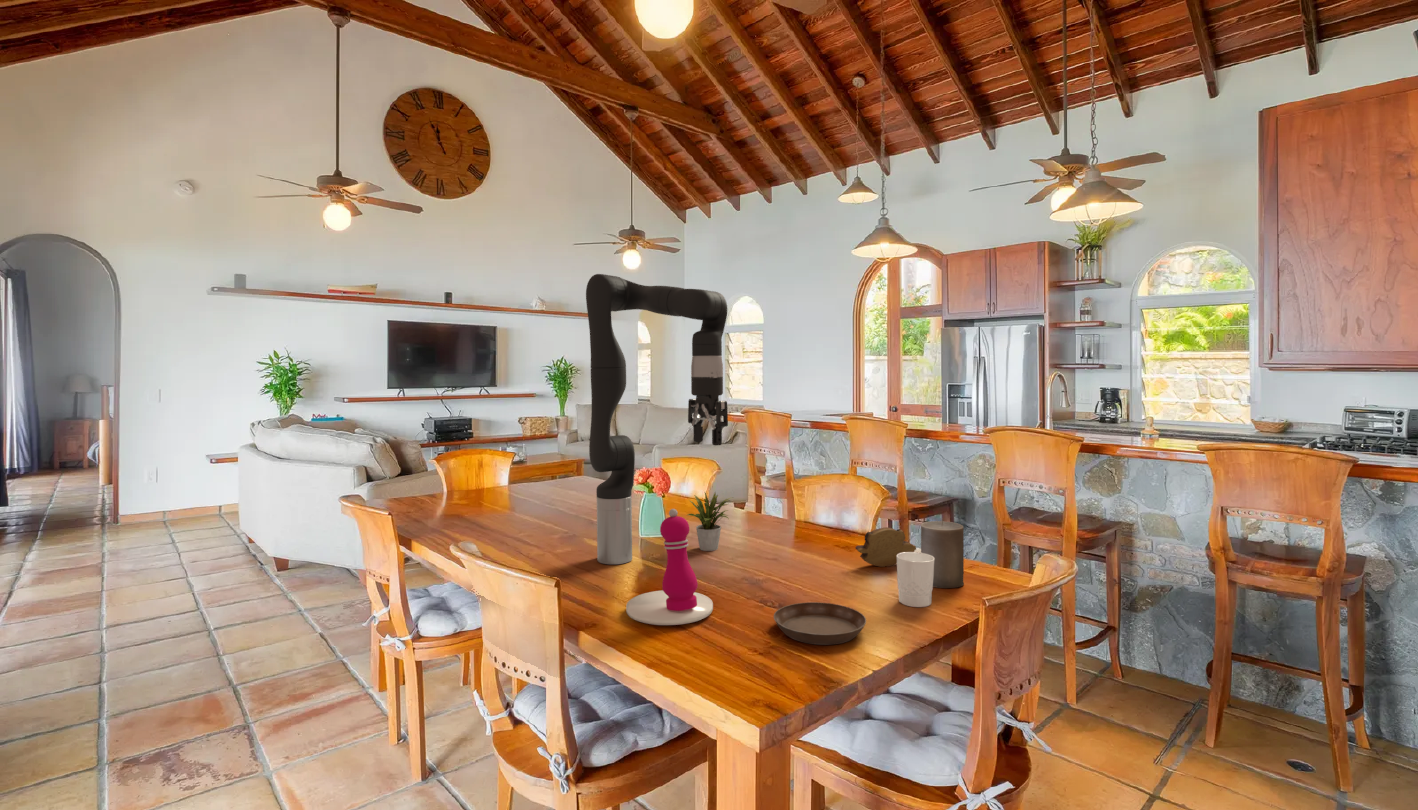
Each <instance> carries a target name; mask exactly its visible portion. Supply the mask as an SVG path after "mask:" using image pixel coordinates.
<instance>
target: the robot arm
mask: <svg viewBox="0 0 1418 810" xmlns="http://www.w3.org/2000/svg"><path fill="white" fill-rule="evenodd" d="M585 301H586V302H585V303H586V312H587V318H588V319H587V320H588V327H589V328H588V329H589V343H590V344H589V345H590V346H589V347H590V388H591V389H590V390H591V415H590V416H591V417H590V419H591V420H590V432H589V433H590V435H589V447H588V450H589V451H588V453H589V461H590V464H591V467H592V469H593V470H594V471H595V472H598V473H607V472H611V473H610V475H609V477H608V478H606V480H604V481H603V482H601V483H600V484H598V485H597V486H596V491H595V492H596V540H597V541H596V543H597V544H596V546H597V550H596V551H597V558H596V559H597V562H598V563H600V564H604V565H621V564H626V563H630V562H631V561H632V560H633V521H632V520H633V511H632V509H633V506H632V505H633V504H632V503H633V501H632V494H633V493H632V491H633V487H634V483H635V462H636V461H635V460H636V458H635V456H636V454H635V452H636V451H635V446H634V444H633V441H632V439H631V438H630V436H627V435H623V434H622V435H621V434H619V435H611V426H612V425H611V423H612V418H613V416H614V413H615V411H616V409H617V407H618V405H619V403H620V401H621V399H622V398H623V395H624V393H625V391H626V387H627V362H626V358H625V354H624V353H623V350H622V348H621V347H620V344H619V341H618V340H617V337H616V335H615V333H614V329H613V325H612V324H613V323H612V312H622V311H631V310H633V311H634V310H642V311H648V312H651V313H654V314H659V315H664V316H669V317H670V316H671V317H684V318H686V319H692V320H698V321H701V328H700V329H699V330H698V331H696V332H694V333H693V334H692V339H691V345H692V346H691V349H692V350H691V357H692V358H691V366H690V373H691V375H690V379H691V380H690V381H691V383H690V384H691V386H690V388H691V389H690V390H691V391H690V392H691V395H692V396H695V398H689V399H688V404H687V405H688V406H687V408H688V409H687V413H688V414H687V422H688V424H691V426H692V427H693V442H695V443H701V442H703V439H704V437H703V436H704V433H703V432H704V428H703V427H704V426H703V425H704V422H705V420H707V421H708V422H709V423H710V425H711V428H712V429H711V443H712V445H713V446H721V445H723V444H722V441H723V432H722V431H723V429H724V428H726V427H728V425H729V417H728V415H729V414H728V401H727V400H720V398H719V396H722V395H723V394H724V366H723V365H724V363H723V352H722V351H723V349H722V347H723V344H722V343H723V341H722V339H723V338H722V337H723V335H724V331H725V327H726V321H727V317H728V305H727V304H728V303H727V300H726V297H725V296H724V295H723V294H722V293H721V292H718V291H713V290H708V289H700V288H684V287H679V286H678V287H677V286H670V285H644V284H639V283H636V282H632V281H630V280H628V279H625V278H623V277H619V276H616V275H608V274H604V273H596V274H593V275H592V276H590V278H589V280H588V281H587V285H586V290H585ZM722 418H723V420H722Z"/></svg>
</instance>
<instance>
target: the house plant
mask: <svg viewBox="0 0 1418 810" xmlns="http://www.w3.org/2000/svg"><path fill="white" fill-rule="evenodd" d="M703 491H704V490H703ZM718 496H719V495H718V494H716V491H715V492H714V493H713V495H712V497H711V500H709V498H708V495H707V493H706V491H704V497H705V498H703V501H704V503H703V502H702V500H701V499H700V498H699V497H698V496H697V495H695V494H694V498H695V500H696V504H695V503H694V502H693V501H691V500H688V501H689V502H690V503H691V504H692V505H693V506H694V507H695V508H696V510H697V511H698V513H695V514H694V513H688V514H687V516H690V517H692V516H693V517H695V518H698V520H699V521H700V523H701V524H698V525H696V526H695V529H696V535H697V541H698V546H699V548H698V549H700V551H704V552H713V551H718V550H719V549H718V548H719V544H720V538H721V537H720V536H721V530H722V526H721V525H719V524H716V523H717V522H718V520H719V519H720V518H726V519H728V520H730V518H729V517H728V516H730V515H727V514H726V513H725V512H727V511H729V510H727V509H725V510H723V511H721V512H720V510H721V508H722V507H724V506H727V505H729V502H730V501H732V500H730V499H733V498H734V497H729V498H726V499H724V500H722V501H721V502H720V503H719V504H718V505H717V506H716V504H717V502H718V501H717V499H718ZM709 501H710V502H709Z"/></svg>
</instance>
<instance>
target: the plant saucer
mask: <svg viewBox="0 0 1418 810" xmlns="http://www.w3.org/2000/svg"><path fill="white" fill-rule="evenodd" d="M773 620H774V622H775V623H776V625H777V626H778V628H779V629H780V630H781V631H782V632H783V634H785V635H786V636H787V637H789V639H790V638H791V639H793V640H794V641H797V642H801V643H804V644H810V645H819V646H829V645H831V646H832V645H839V644H844V643H848V642H849V641H852V640H853V639H855V638H856V637H857V636H858V635H859V634H860V633H861V631H862V630H863V629H864V627H865V625H866V623H867V618H866V617H865V614H863V613H861V612H860V611H859V610H856V609H854V608H851V607H849V606H848V607H847V606H846V605H841V604H835V603H830V602H812V601H811V602H808V601H807V602H799V603H793V604H788V605H785V606H783V607H780V608H779V609H777V610H775V612H774V614H773Z"/></svg>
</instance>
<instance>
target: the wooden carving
mask: <svg viewBox="0 0 1418 810" xmlns="http://www.w3.org/2000/svg"><path fill="white" fill-rule="evenodd" d="M905 535H906V534H905V531H903V530H902V529H900V528H898V529H895V528H892V527H879V528H876V529H873V530H871V531H867V532H866V533H865V535H864V541H865V542H864V544H863V545H862V544H861V545H860V544H859V545H856V546H855V550H857V552H858V553H861V554H860V556H859V557H860V558H861V559H862V560H863V561H864V562H866V563H867V564H869V565H873V566H876V567H880V568H886V567H885V566H887V567H891V566H894V565H897V557H896V556H897V554H899V553H903V552H916V550H917V546H916V545H914V544H912V543H911V542H909V541H907V540H906V536H905Z"/></svg>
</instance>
